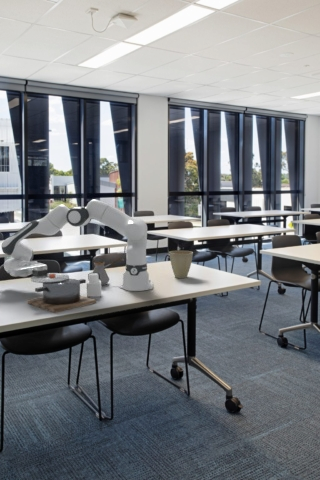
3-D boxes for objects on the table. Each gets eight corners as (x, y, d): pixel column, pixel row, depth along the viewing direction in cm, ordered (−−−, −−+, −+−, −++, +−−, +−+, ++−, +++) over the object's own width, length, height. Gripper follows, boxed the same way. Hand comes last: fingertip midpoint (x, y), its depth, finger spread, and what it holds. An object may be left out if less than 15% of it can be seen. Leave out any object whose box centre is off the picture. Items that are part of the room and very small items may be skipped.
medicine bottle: (88, 293, 247) (87, 271, 246) (101, 293, 248) (101, 271, 246) (87, 296, 240) (86, 274, 238) (100, 296, 241) (100, 274, 239)
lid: (21, 278, 235) (20, 271, 235) (52, 272, 249) (52, 266, 248) (44, 284, 220) (43, 277, 220) (76, 278, 234) (76, 272, 233)
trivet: (27, 303, 228) (27, 300, 228) (68, 294, 245) (68, 291, 245) (55, 312, 211) (54, 309, 211) (96, 302, 228) (96, 299, 228)
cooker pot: (27, 302, 224) (26, 284, 223) (74, 292, 244) (73, 275, 243) (47, 309, 212) (46, 290, 211) (95, 297, 232) (95, 280, 231)
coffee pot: (94, 287, 261) (93, 261, 259) (86, 283, 271) (86, 258, 269) (127, 283, 272) (127, 258, 270) (119, 279, 282) (119, 255, 280)
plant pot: (193, 279, 281) (193, 254, 279) (169, 279, 282) (169, 254, 280) (192, 274, 296) (192, 250, 294) (169, 274, 296) (169, 250, 294)
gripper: (5, 265, 244) (18, 268, 235) (38, 260, 259) (52, 263, 250) (5, 277, 245) (18, 280, 236) (39, 271, 260) (52, 274, 250)
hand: (36, 271), depth 243 cm, fingers closed
